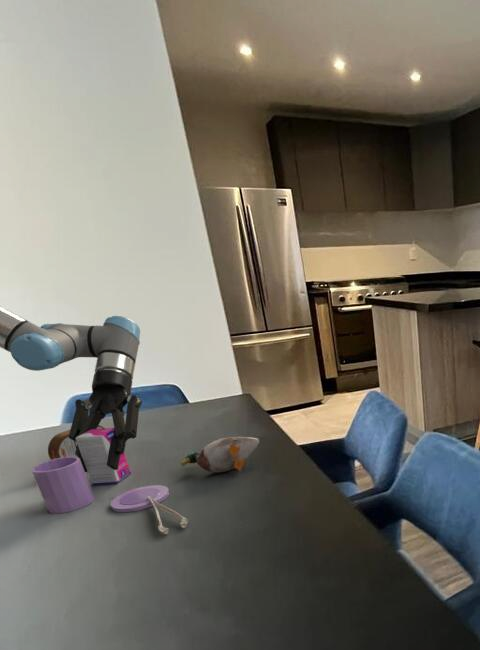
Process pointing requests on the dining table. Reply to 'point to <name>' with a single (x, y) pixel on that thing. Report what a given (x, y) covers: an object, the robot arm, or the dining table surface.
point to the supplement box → (101, 457)
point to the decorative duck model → (224, 454)
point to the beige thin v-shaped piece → (171, 512)
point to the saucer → (139, 498)
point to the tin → (63, 445)
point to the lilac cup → (63, 484)
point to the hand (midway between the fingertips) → (96, 468)
